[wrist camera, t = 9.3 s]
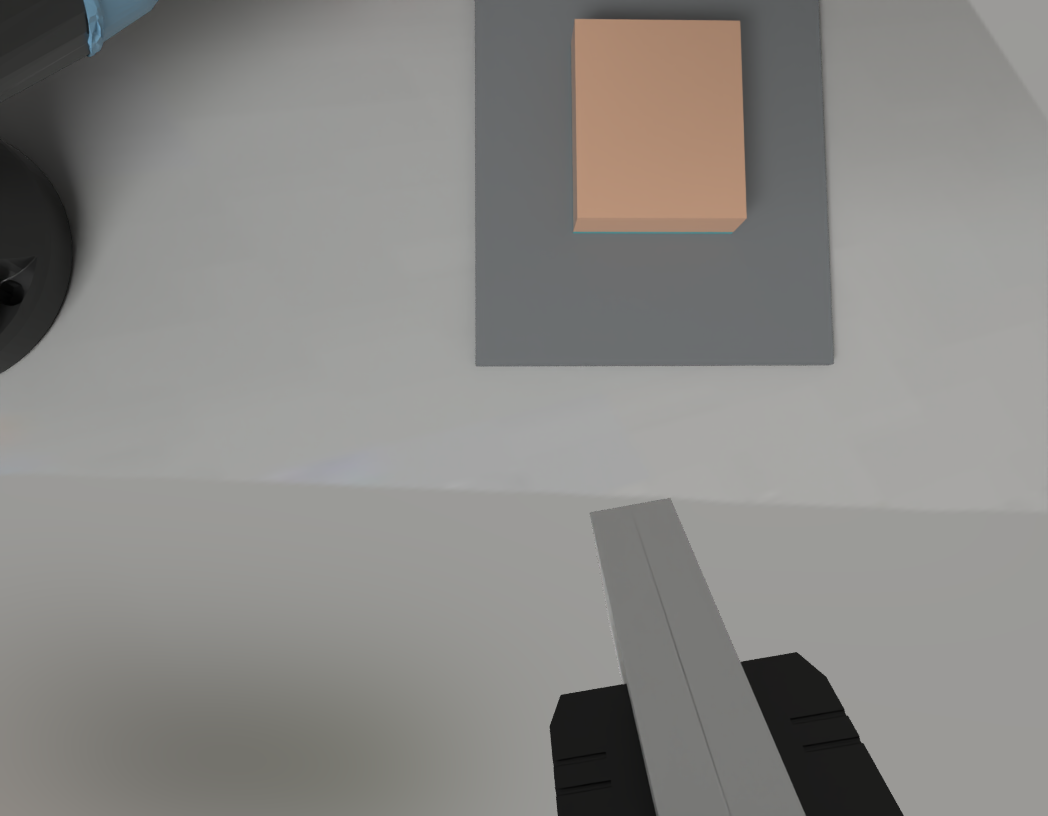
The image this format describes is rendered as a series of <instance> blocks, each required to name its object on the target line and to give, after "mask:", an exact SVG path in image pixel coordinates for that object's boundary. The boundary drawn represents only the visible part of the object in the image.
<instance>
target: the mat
mask: <svg viewBox="0 0 1048 816" xmlns="http://www.w3.org/2000/svg"><path fill="white" fill-rule="evenodd" d="M575 19H628V20H726V21H740V29H741V60H742V90H743V121H744V151H745V182H746V212H747V219H746V220H745V221H744V222H743V223H742V224H741V225H740V226H739V227H738V228H737V229H736V230H735V231H734V232H733V233H732V234H606V233H573V208H572V129H571V49H570V46H571V40H572V33H573V27H574V20H575ZM475 223H476V366H732V365H831V364H834V355H833V332H832V308H831V284H830V261H829V237H828V213H827V190H826V166H825V142H824V119H823V95H822V71H821V48H820V24H819V0H475Z"/></svg>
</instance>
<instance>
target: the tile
mask: <svg viewBox="0 0 1048 816" xmlns="http://www.w3.org/2000/svg"><path fill="white" fill-rule="evenodd" d="M570 49H571V129H572V208H573V233H606V234H732V233H733V232H734V231H735V230H736V229H737V228H738V227H739V226H740V225H741V224H742V223H743V222H744V221H745V220H746V219H747V212H746V182H745V151H744V121H743V90H742V60H741V29H740V21H726V20H628V19H575V20H574V27H573V33H572V40H571V46H570Z"/></svg>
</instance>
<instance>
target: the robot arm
mask: <svg viewBox="0 0 1048 816" xmlns="http://www.w3.org/2000/svg"><path fill="white" fill-rule="evenodd" d="M157 1H158V0H0V102H2V101H4V100H6V99H8V98H9V97H11V96H13V95H15V94H17V93H19V92H20V91H22V90H24V89H26V88H28V87H30V86H31V85H33V84H35V83H37V82H39V81H41V80H42V79H44V78H46V77H48V76H50V75H52V74H54V73H55V72H57V71H59V70H61V69H63V68H65V67H66V66H68V65H70V64H72V63H74V62H76V61H77V60H79V59H81V58H83V57H85V56H88V57H91V56H93V55H95V53H96V52H99V51H100V50H101V48H102V46H103V42H104V41H106V40H107V39H109V38H110V37H112V36H113V35H115V34H116V33H118V32H119V31H121V30H122V29H124V28H125V27H127V26H128V25H130V24H131V23H133V22H134V21H136V20H137V19H139V18H140V17H142V16H143V15H145V14H146V13H148V12H149V11H151V10H152V9H153V7H154V5H155V4H156V3H157ZM71 264H72V242H71V234H70V228H69V224H68V219H67V216H66V213H65V210H64V207H63V205H62V203H61V200H60V198H59V196H58V194H57V193H56V191H55V189H54V188H53V186H52V184H51V183H50V181H49V180H48V179H47V177H46V176H45V175H44V174H43V172H42V171H41V170H40V169H39V168H38V167H37V166H36V165H35V164H34V163H33V162H32V161H31V160H30V159H29V158H27V157H26V156H25V155H24V154H22V153H21V152H20V151H18V150H17V149H15V148H14V147H12V146H11V145H9V144H8V143H6V142H4V141H3V140H1V139H0V373H2V372H3V371H5V370H7V369H8V368H10V367H11V366H12V365H14V364H15V363H16V362H18V361H19V360H20V359H21V358H23V357H24V356H25V355H26V354H27V353H28V352H29V351H30V350H31V349H32V348H33V347H34V346H35V345H36V344H37V343H38V341H39V340H40V339H41V338H42V336H43V335H44V334H45V333H46V331H47V330H48V328H49V327H50V325H51V324H52V322H53V320H54V318H55V317H56V315H57V313H58V311H59V309H60V307H61V304H62V302H63V299H64V296H65V293H66V290H67V287H68V282H69V278H70V272H71ZM590 517H591V523H592V529H593V534H594V540H595V546H596V551H597V557H598V563H599V568H600V574H601V579H602V585H603V591H604V596H605V602H606V608H607V613H608V619H609V624H610V629H611V634H612V639H613V643H614V647H615V652H616V657H617V661H618V666H619V671H620V675H621V680H622V684H621V685H616V686H610V687H605V688H598V689H592V690H587V691H581V692H575V693H569V694H564V695H561V696H560V699H559V701H558V704H557V707H556V710H555V713H554V716H553V719H552V721H551V724H550V734H551V746H552V757H553V764H554V779H555V789H556V800H557V812H558V816H903V814H902V812H901V810H900V808H899V806H898V805H897V803H896V801H895V799H894V797H893V796H892V794H891V792H890V790H889V789H888V787H887V785H886V783H885V781H884V780H883V778H882V776H881V774H880V773H879V771H878V769H877V767H876V765H875V763H874V762H873V760H872V758H871V756H870V754H869V753H868V751H867V749H866V747H865V746H864V744H863V743H861V741H860V738H859V735H858V733H857V731H856V730H855V728H854V726H853V724H852V722H851V720H850V719H849V717H848V716H846V714H845V711H844V708H843V706H842V704H841V703H840V701H839V699H838V697H837V696H836V694H835V692H834V690H833V688H832V686H831V685H830V683H829V681H828V679H827V678H826V676H824V675H823V674H822V673H821V672H820V671H818V670H817V669H816V668H815V667H814V666H812V665H811V664H810V663H809V662H808V661H807V660H805V659H804V658H803V657H802V656H801V655H800V654H798V653H797V652H795V653H789V654H784V655H778V656H772V657H766V658H760V659H754V660H749V661H743V662H740V660H739V658H738V656H737V653H736V651H735V649H734V646H733V644H732V642H731V640H730V637H729V635H728V632H727V630H726V628H725V625H724V623H723V621H722V618H721V616H720V613H719V611H718V609H717V606H716V604H715V602H714V600H713V597H712V595H711V592H710V590H709V588H708V585H707V583H706V581H705V578H704V576H703V574H702V571H701V569H700V567H699V565H698V562H697V560H696V557H695V555H694V553H693V550H692V548H691V545H690V543H689V541H688V538H687V536H686V534H685V531H684V529H683V527H682V524H681V522H680V520H679V518H678V515H677V513H676V510H675V508H674V506H673V503H672V501H671V499H670V498H667V499H662V500H656V501H651V502H645V503H640V504H635V505H629V506H623V507H618V508H613V509H607V510H601V511H597V512H591V513H590Z"/></svg>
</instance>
